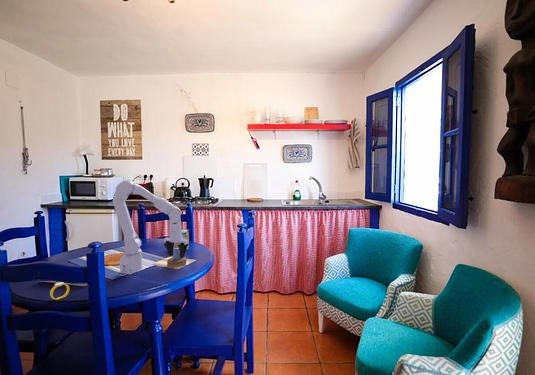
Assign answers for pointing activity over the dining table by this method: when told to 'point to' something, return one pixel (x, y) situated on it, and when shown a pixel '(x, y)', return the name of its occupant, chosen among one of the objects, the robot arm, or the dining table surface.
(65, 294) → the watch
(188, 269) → the dining table surface
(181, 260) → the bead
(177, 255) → the peg
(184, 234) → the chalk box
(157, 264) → the board
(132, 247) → the robot arm
